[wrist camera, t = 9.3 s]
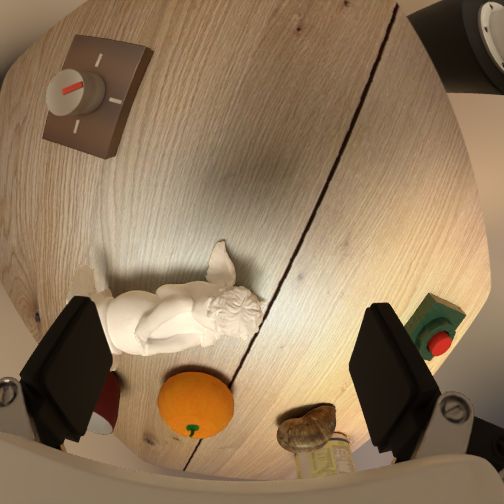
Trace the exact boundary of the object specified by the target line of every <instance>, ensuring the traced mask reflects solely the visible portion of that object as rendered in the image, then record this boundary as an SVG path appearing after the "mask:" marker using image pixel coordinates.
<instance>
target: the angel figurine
mask: <svg viewBox="0 0 504 504" xmlns="http://www.w3.org/2000/svg"><path fill="white" fill-rule="evenodd" d="M209 263H210V265H209V269H208V270H207V276H206V279H207V280H209V281H208V282H204V281H193V282H189V283H186V284H165V285H162V286H161V287H159V288H158V289H157V290H156V294H152V293H149V292H146V291H138V290H137V291H129V292H126V293H123V294H121V295H119V296H118V297H116V298H115V299H114V298H112V294H111V291H110V289H109V288H108V289H106V290H103V291H101V292H99V293H97V290H96V288H95V280H94V269H91V268H90V267H88V266H86V265H85V264H84V262H83V263H82V264H80V265H79V266H78V269H77V271H76V273H75V276H74V278H73V281H72V283H71V286H70V288H69V291H68V294H67V298H66V305H67V304H68V303H69V301H70V300H71V299H72V297H74V296H87V297H90V298H91V300H92V301H94V302H95V304H96V307H97V311H98V314H99V317H100V320H101V324H102V327H103V330H104V333H105V336H106V339H107V342H108V345H109V347H110V350H111V353H112V356H113V364H112V367H111V369H110V371H114V370H116V368H117V367H118V365H119V355H121V354H123V353H122V352H123V351H124V352H126V353H129V354H134V355H142V356H149V355H154V354H157V353H175V352H180V351H182V350H184V349H187V348H189V347H193V346H196V345H198V344H200V343H201V346H202V347H203V348H206V347H209V346H212V345H214V344H215V342H216V341H217V339H219V338H220V336H221V335H222V334H224V335H226V336H228V337H240V338H241V339H242V340H247V339H248V337H249V336H250V335H253V334H254V333H257V332H258V331H259V328H258V326H259V325H260V324H261V322H262V319H263V313H262V311H261V307H260V306H262V305H264V304H265V303H266V302H267V301H263V302H259V300H258V298H257V296H255V295H254V294H253V293H251V292H250V290H249V289H246V288H245V287H244V286H239V287H233V285H234V284H235V282H236V280H235V278H236V273H235V268H234V264H233V263H232V262H231V259H230V258H229V256H228V253H227V252H226V249H225V242H224V241H222V242H221V243H220V242H217V243H216V246H215V247H214V248H213V252H212V253H211V259H210V261H209Z"/></svg>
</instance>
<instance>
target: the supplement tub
mask: <svg viewBox="0 0 504 504" xmlns="http://www.w3.org/2000/svg"><path fill="white" fill-rule="evenodd" d="M294 455H295V461H296V468H297V476H298V479H309V478H318V477H326V476H334V475H340V474H346V473H352V472H356V471H355V467H354V462H353V458H352V454H351V450H350V446H349V441H348V439H347V438H346V437H345V436H344V435H342V434H338V433H333V435H332V437H331V438H330V440H329V441H328V442H327V443H326V444H325V445H324V446H323V447H322V448H320V449H318V450H316V451H314V452H311V453H303V454H297V453H294Z"/></svg>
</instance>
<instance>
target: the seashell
mask: <svg viewBox="0 0 504 504" xmlns="http://www.w3.org/2000/svg"><path fill="white" fill-rule="evenodd" d="M335 413H336V410H335V408H334V407H333V406H321V407H318V408H316V409H313V410H311V411H310V412H308V413H307V414H305V415H304V416H303V417H301V418H292V419H288V420H286V421H284V422H283V423H282V424H281V425H280V426H279V428H278V431H277V440H278V443H279V444H280V445H281V447H283V448H284V449H285V450H287V451H290V452H293V453H297V454H303V453H311V452H314V451H316V450H318V449H320V448H322V447H323V446H324V445H325V444H326V443H327V442H328V441H329V440H330V438H331V437H332V435H333V433H334V430H335V427H336V415H335Z"/></svg>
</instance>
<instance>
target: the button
mask: <svg viewBox="0 0 504 504" xmlns="http://www.w3.org/2000/svg"><path fill="white" fill-rule="evenodd" d="M451 343H452V340H451V338H450V337H449V336H448V334H447V333H446V332H445V331H441V332H438V333H437V334H435V335H434V336H433V337H432V338H431V339H430V341H429V342H428V344H427V346H428V348H429V350H430V351H431V353H432V355H433V356H440V355H442V354H443V353H445V352H446V351H447V350H448V349H449V347H450V346H451Z"/></svg>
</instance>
